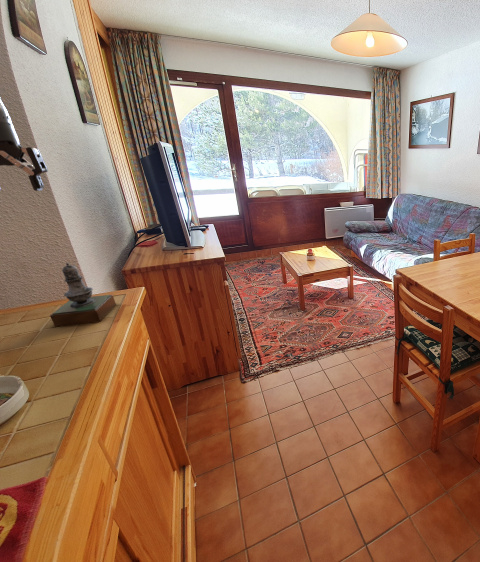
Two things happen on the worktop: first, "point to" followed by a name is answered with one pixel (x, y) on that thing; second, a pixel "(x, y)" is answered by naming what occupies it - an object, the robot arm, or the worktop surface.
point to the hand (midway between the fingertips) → (18, 190)
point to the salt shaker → (76, 288)
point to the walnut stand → (83, 311)
